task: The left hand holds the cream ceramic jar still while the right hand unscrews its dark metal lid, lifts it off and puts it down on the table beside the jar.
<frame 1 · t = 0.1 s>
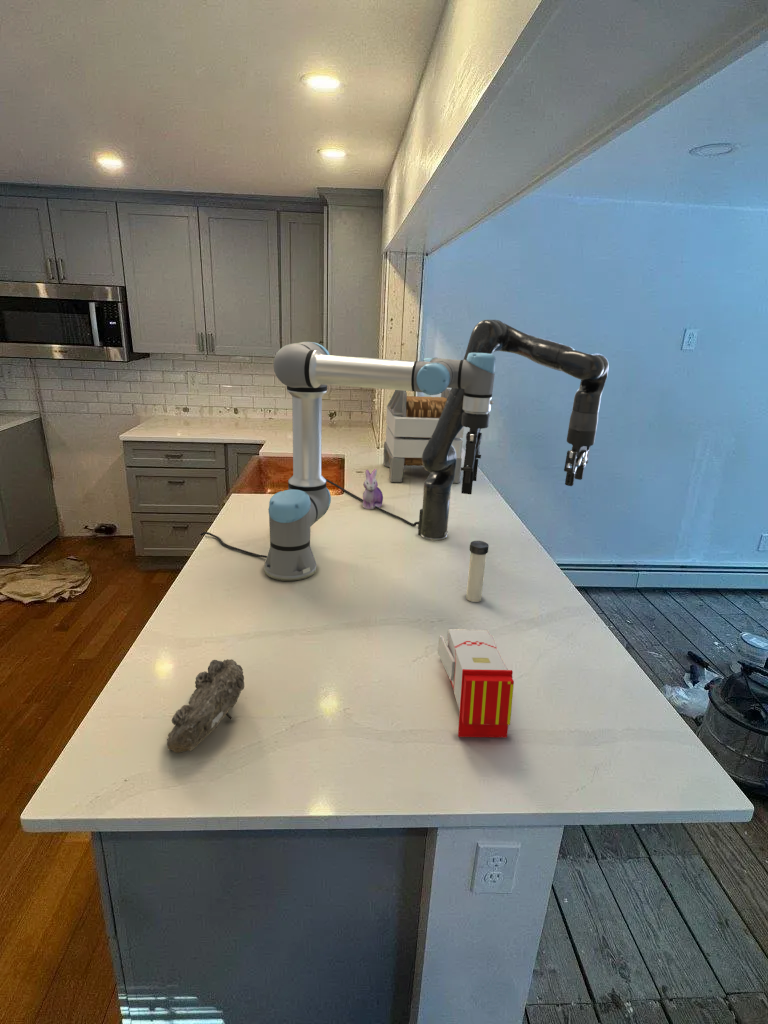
left hand: (469, 486, 161), 28 cm above the counter, tool pointing down, fingers open, 13 cm apart
right hand: (573, 482, 165), 29 cm above the counter, tool pointing down, fingers open, 8 cm apart
toy: (469, 691, 119), on the counter
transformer: (419, 473, 275), on the counter
figurine: (372, 506, 226), on the counter
lid: (479, 545, 152), point 16 cm above the counter, screwed on, not yet turned
jar: (473, 598, 157), on the counter
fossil: (212, 717, 108), on the counter
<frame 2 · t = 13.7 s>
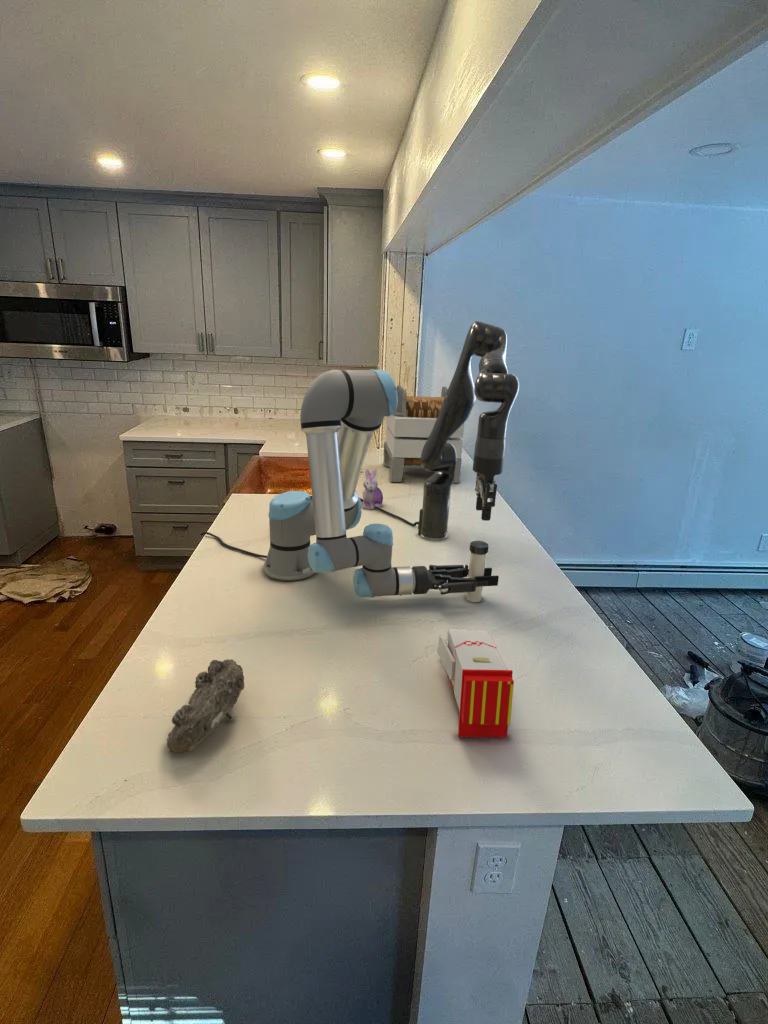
left hand: (494, 576, 156), 7 cm above the counter, tool horizontal, fingers closed on jar, 4 cm apart
right hand: (482, 514, 149), 25 cm above the counter, tool pointing down, fingers open, 7 cm apart
jar: (473, 598, 157), on the counter, touching left hand
everything else where it was.
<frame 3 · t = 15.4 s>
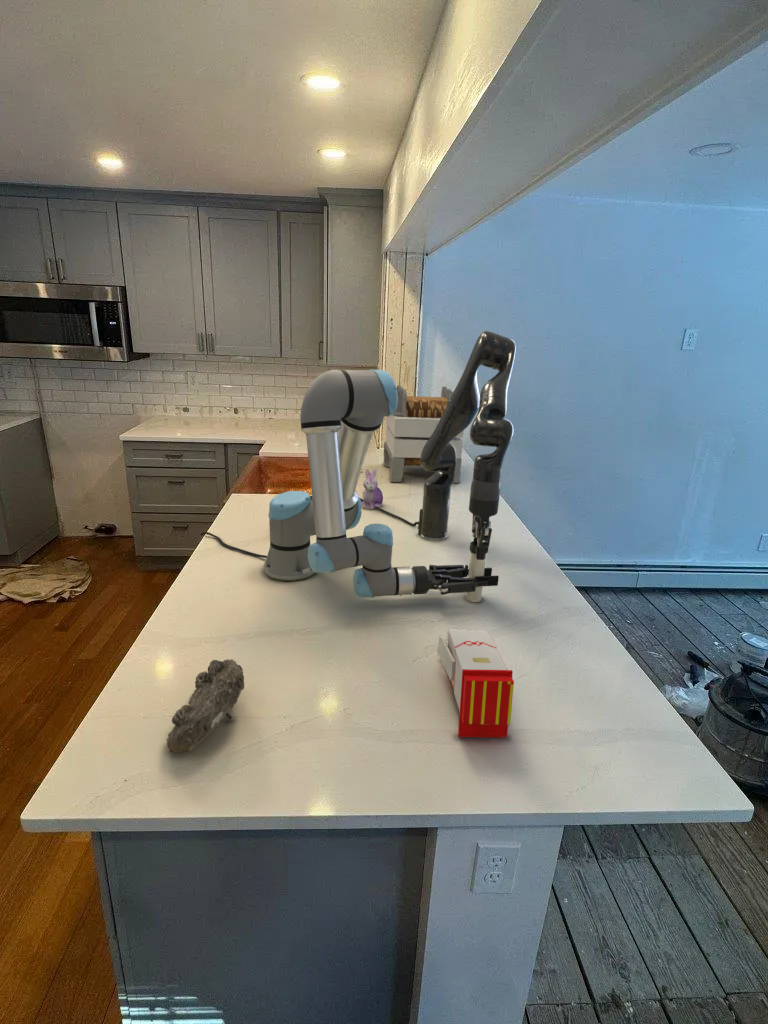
left hand: (494, 576, 156), 7 cm above the counter, tool horizontal, fingers closed on jar, 4 cm apart
right hand: (478, 554, 153), 13 cm above the counter, tool pointing down, fingers closed on lid, 4 cm apart
lid: (479, 545, 152), point 16 cm above the counter, screwed on, not yet turned, touching right hand
jar: (473, 598, 157), on the counter, touching left hand
everything else where it was.
when the right hand's fingers open (14 cm above the counter, at t = 17.2 s): lid stays where it is, point 16 cm above the counter.
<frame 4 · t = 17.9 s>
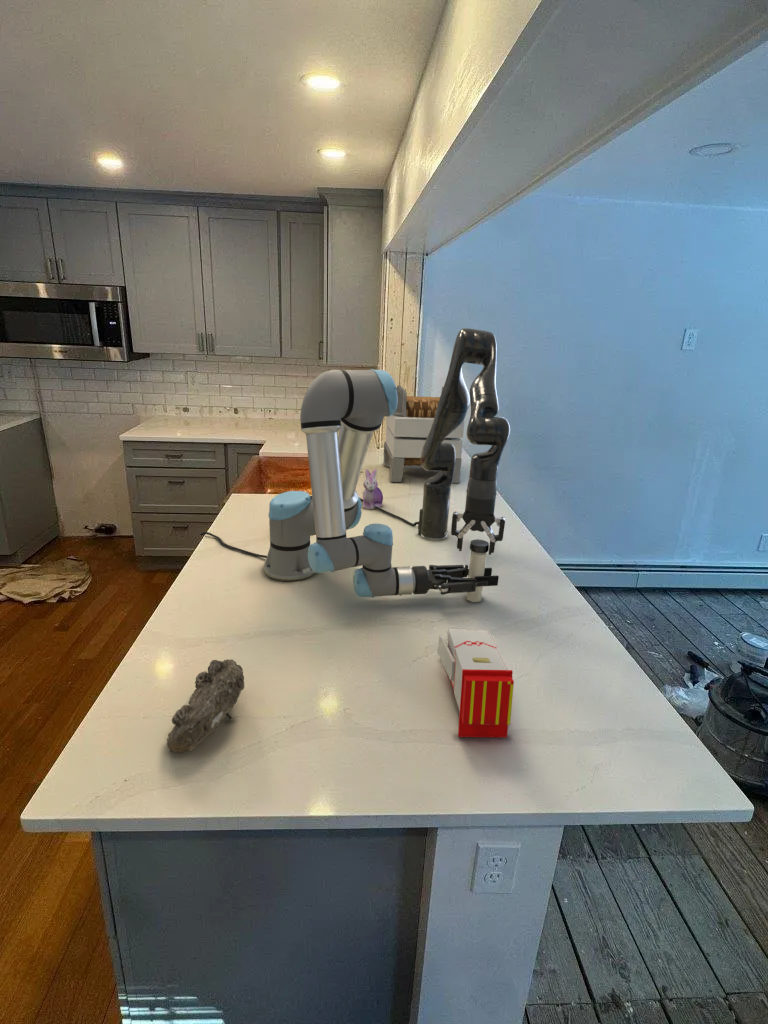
left hand: (494, 576, 156), 7 cm above the counter, tool horizontal, fingers closed on jar, 4 cm apart
right hand: (475, 551, 152), 14 cm above the counter, tool pointing down, fingers open, 7 cm apart
lid: (479, 544, 152), point 16 cm above the counter, turned 107° so far, risen 0.4 cm, still on its thread
jar: (473, 598, 157), on the counter, touching left hand
everything else where it was.
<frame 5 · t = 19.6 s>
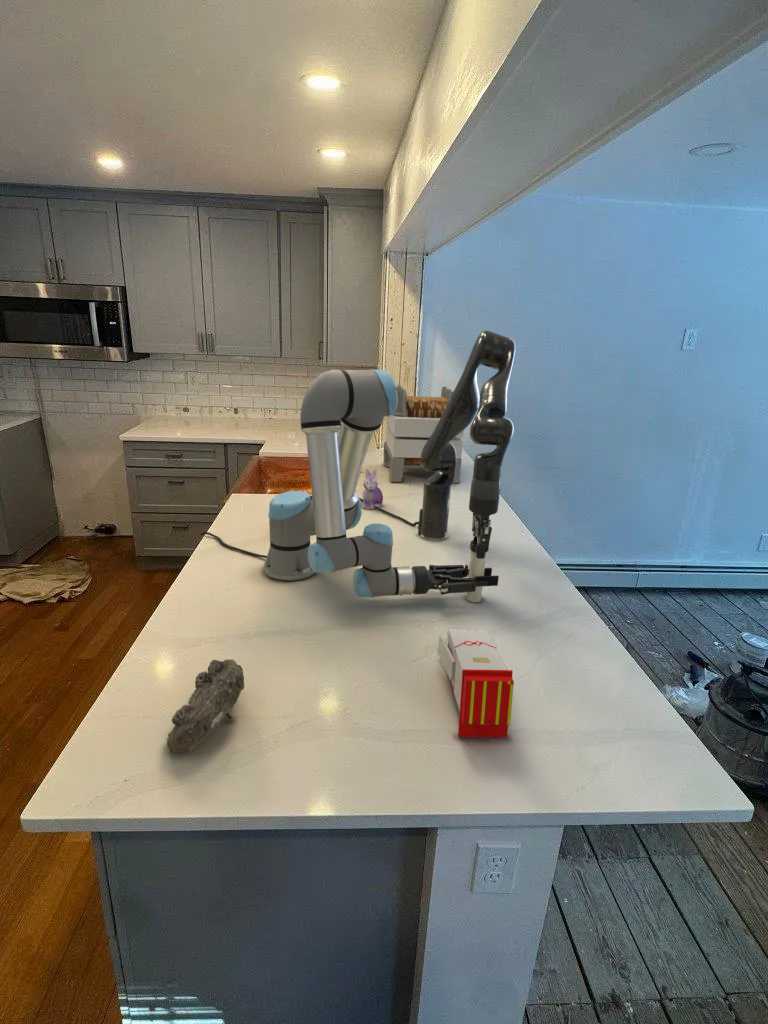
left hand: (494, 576, 156), 7 cm above the counter, tool horizontal, fingers closed on jar, 4 cm apart
right hand: (478, 553, 153), 14 cm above the counter, tool pointing down, fingers closed on lid, 4 cm apart
lid: (479, 544, 152), point 16 cm above the counter, turned 107° so far, risen 0.4 cm, still on its thread, touching right hand
jar: (473, 598, 157), on the counter, touching left hand
everything else where it was.
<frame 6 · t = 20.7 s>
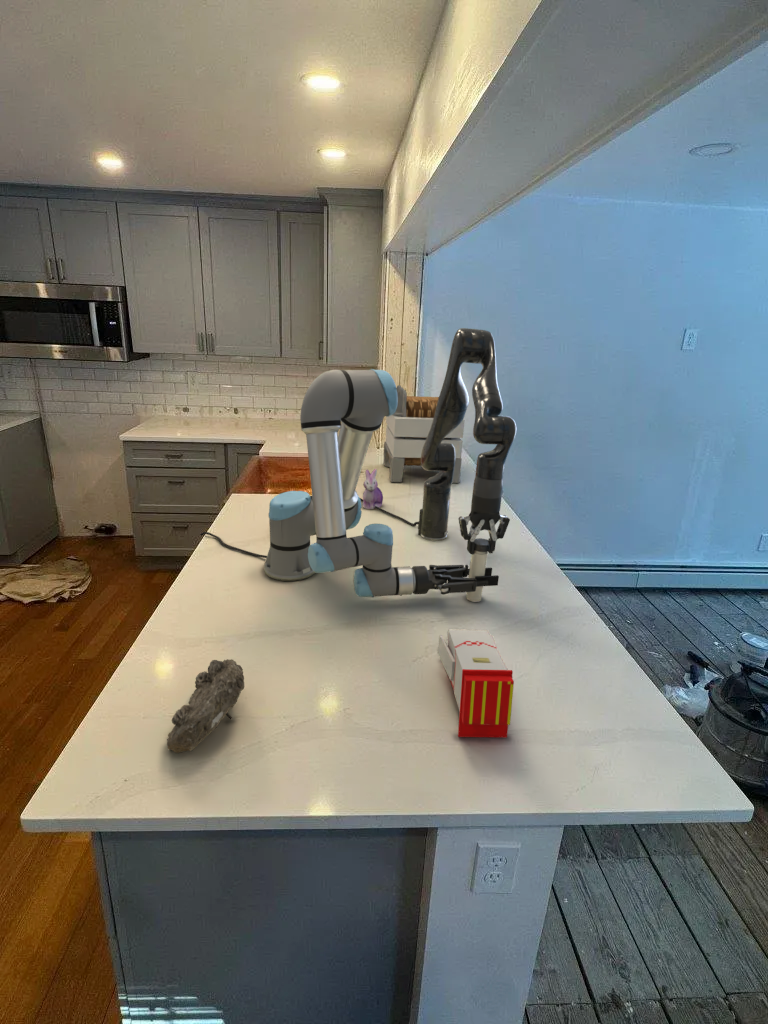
left hand: (494, 576, 156), 7 cm above the counter, tool horizontal, fingers closed on jar, 4 cm apart
right hand: (480, 552, 153), 14 cm above the counter, tool pointing down, fingers closed on lid, 4 cm apart
lid: (481, 542, 152), point 17 cm above the counter, off its thread, touching right hand
jar: (473, 598, 157), on the counter, touching left hand
everything else where it was.
when the right hand's fingers open (0 cm above the counter, at t = 26.8 s): lid drops 1 cm, point 2 cm above the counter.
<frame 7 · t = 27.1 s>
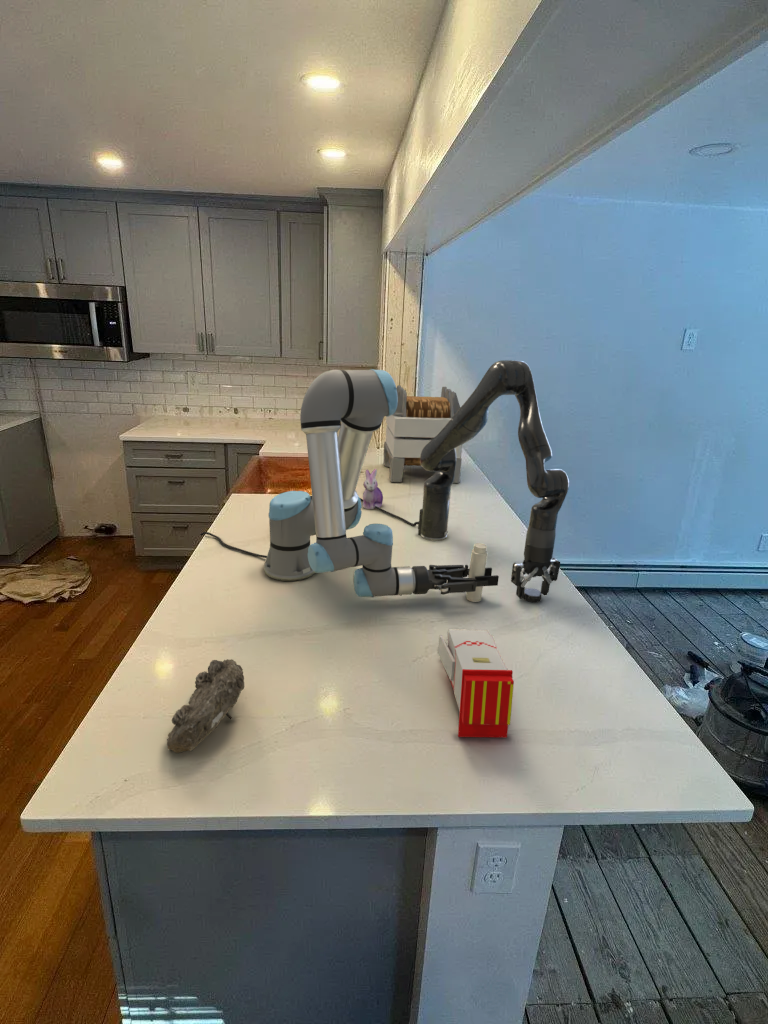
left hand: (494, 576, 156), 7 cm above the counter, tool horizontal, fingers closed on jar, 4 cm apart
right hand: (531, 595, 158), 1 cm above the counter, tool pointing down, fingers open, 7 cm apart
lid: (532, 593, 158), point 2 cm above the counter, off its thread
jar: (473, 598, 157), on the counter, touching left hand
everything else where it was.
when the left hand's fingers open (7 cm above the counter, at t = 27.7 s): jar stays where it is, on the counter.
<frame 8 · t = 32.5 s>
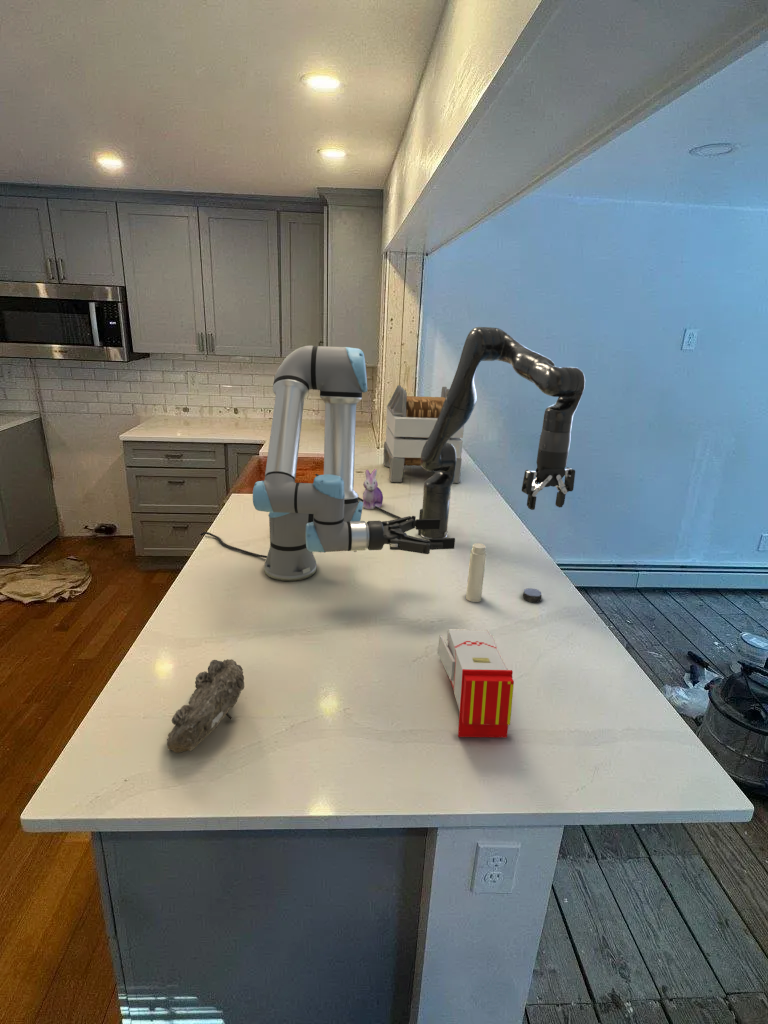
left hand: (446, 533, 149), 20 cm above the counter, tool horizontal, fingers open, 13 cm apart
right hand: (544, 507, 150), 27 cm above the counter, tool pointing down, fingers open, 8 cm apart
jar: (473, 598, 157), on the counter
everything else where it was.
at the end: lid came off its thread; lid point 1.6 cm above the counter; the left hand is holding nothing; the right hand is holding nothing; jar tilted 0°; jar moved 0.0 cm from its start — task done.
